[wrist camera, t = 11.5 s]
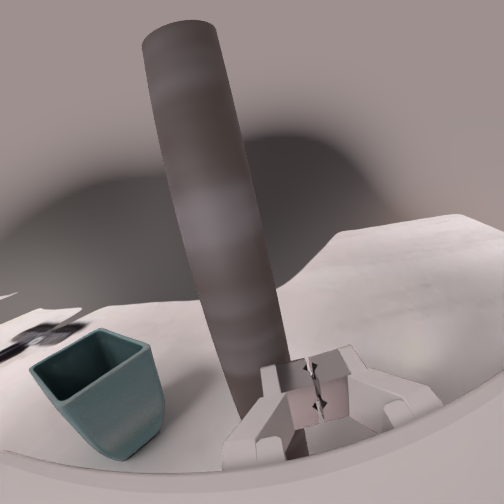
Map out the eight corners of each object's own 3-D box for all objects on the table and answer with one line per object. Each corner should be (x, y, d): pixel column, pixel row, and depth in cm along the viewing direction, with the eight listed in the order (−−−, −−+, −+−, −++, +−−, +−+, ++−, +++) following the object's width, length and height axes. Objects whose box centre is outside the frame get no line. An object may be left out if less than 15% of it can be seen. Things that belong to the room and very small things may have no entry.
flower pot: (190, 425, 23) (152, 342, 20) (122, 487, 16) (57, 406, 13) (134, 397, 28) (99, 326, 25) (74, 441, 21) (27, 368, 18)
